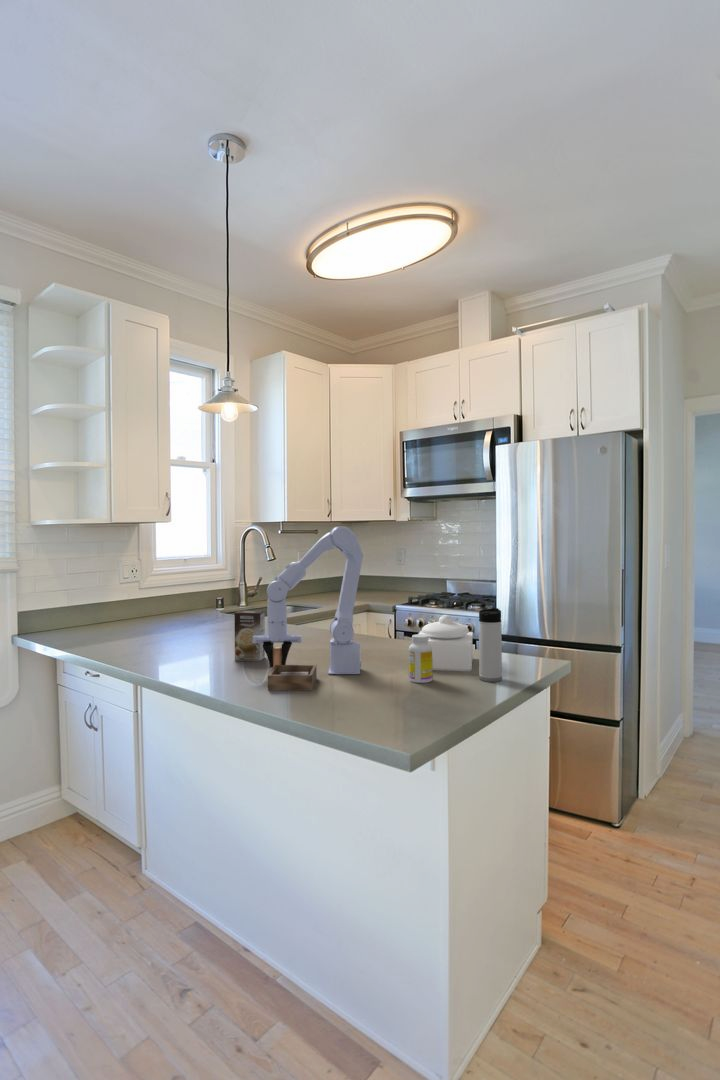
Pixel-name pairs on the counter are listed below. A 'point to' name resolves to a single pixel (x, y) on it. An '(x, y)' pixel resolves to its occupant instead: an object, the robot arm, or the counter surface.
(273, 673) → the peg box
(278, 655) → the peg
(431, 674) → the supplement bottle
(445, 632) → the white lidded jar
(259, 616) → the coffee box
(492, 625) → the travel mug
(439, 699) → the counter surface
